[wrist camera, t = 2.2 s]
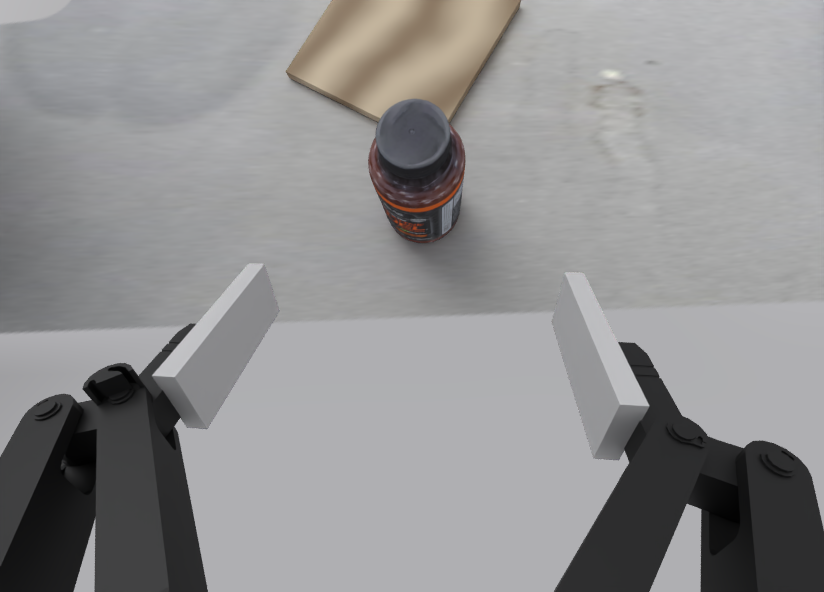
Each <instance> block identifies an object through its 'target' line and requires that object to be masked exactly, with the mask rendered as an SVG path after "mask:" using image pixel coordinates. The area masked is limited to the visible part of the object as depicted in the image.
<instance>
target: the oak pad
mask: <svg viewBox="0 0 824 592" xmlns="http://www.w3.org/2000/svg"><path fill="white" fill-rule="evenodd" d="M520 2H521V0H332V1H331V3H330V4H329V6H328V7H327V9H326V10H325V12H324V13H323V15H322V17H321V18H320V20H319V21H318V23H317V24H316V26H315V27H314V29H313V30H312V32H311V33H310V35H309V36H308V38H307V40H306V41H305V43H304V44H303V46H302V47H301V49H300V50H299V52H298V53H297V55H296V56H295V58H294V59H293V61H292V63H291V64H290V66H289V67H288V69H287V70H286V73H287V75H288V76H289V78H291V79H293V80H295V81H297V82H299V83H301V84H303V85H305V86H307V87H309V88H311V89H313V90H315V91H317V92H319V93H321V94H323V95H325V96H327V97H329V98H331V99H333V100H335V101H337V102H339V103H341V104H343V105H345V106H347V107H349V108H351V109H353V110H355V111H357V112H359V113H361V114H363V115H365V116H367V117H369V118H371V119H373V120H375V121H377V122H379V120H380V118H381V117H382V115H383V114H384V113H385V111H386V110H387V109H388V108H390V107H391V106H393V105H394V104H396V103H398V102H400V101H403V100H407V99H422V100H427V101H429V102H431V103H433V104H435V105H436V106H438V107H439V108H440V109H441V110H442V111H443V112H444V114H445V116H446V118H447V119H448V122H449V123H450V121H451V120H452V118H453V116H454V115H455V113H456V111H457V110H458V108H459V106H460V105H461V103H462V101H463V100H464V98H465V96H466V95H467V93H468V91H469V90H470V88H471V86H472V85H473V83H474V81H475V80H476V78H477V76H478V75H479V73H480V72H481V70H482V68H483V67H484V65H485V63H486V62H487V60H488V58H489V57H490V55H491V53H492V52H493V50H494V48H495V47H496V45H497V43H498V42H499V40H500V38H501V37H502V35H503V33H504V32H505V30H506V28H507V27H508V25H509V24H510V22H511V20H512V19H513V17H514V15H515V14H516V12H517V10H518V9H519V7H520Z"/></svg>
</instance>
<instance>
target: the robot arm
mask: <svg viewBox="0 0 824 592" xmlns="http://www.w3.org/2000/svg"><path fill="white" fill-rule="evenodd" d="M279 311H280V310H279V307H278V304H277V301H276V298H275V295H274V292H273V289H272V285H271V282H270V279H269V276H268V273H267V270H266V267H265V264H252V263H248V265H247V266H246V267H245V268H244V269H243V270H242V272H241V273H240V274H239V275H238V276H237V277H236V279H235V280H234V281H233V282H232V283H231V284H230V286H229V287H228V288H227V289H226V290H225V291H224V293H223V294H222V295H221V296H220V297H219V298H218V299H217V301H216V302H215V303H214V304H213V305H212V306H211V308H210V309H209V310H208V311H207V312H206V313H205V315H204V316H203V317H202V318H201V319H200V320H199V322H198V323H197V324H189V325H188V326H186V327H185V328H183V329H182V330H180V331H179V332H178V333H177V334H176V335H175V336H174V337H173V338H172V339H171V340H170V342H169V344H167V345H166V346H165V347H164V348H163V349H162V352H160V353H159V354H158V355H157V356H156V357H155V358H154V359H153V360H152V362H151V363H150V364H149V365H148V366H147V367H146V368H145V369H144V371H143V372H142V373H141V374H140V375H139V376H138V375H137V374H136V372H135V371H134V370H133V368H132V367H131V365H128V364H126V363H118V364H114V365H110V366H107V367H105V368H103V369H101V370H99V371H97V372H96V373H94V374H93V375H92V376H90V377H89V378H88V380H87V381H86V382H85V383H84V386H83V390H84V391H85V392H86V394H87V395H88V396H89V397H90V398H91V399H92V400H91V401H85V402H80V403H77V402H76V400H75V399H74V398H73V397H72V396H71V395H68V394H59V395H55V396H52V397H49V398H46V399H44V400H42V401H40V402H39V403H37V404H36V405H34V406H33V407H32V408H31V409H29V410H28V411H27V413H26V414H25V415H24V417H23V418H22V419H21V421H20V423H19V425H18V427H17V428H16V430H15V432H14V434H13V435H12V437H11V439H10V441H9V442H8V444H7V446H6V448H5V450H4V452H3V453H2V455H1V457H0V592H73V591H74V588H75V584H76V581H77V577H78V574H79V571H80V567H81V564H82V560H83V557H84V554H85V550H86V547H87V544H88V540H89V537H90V534H91V530H92V527H93V523H94V520H95V517H96V529H95V530H96V531H95V534H96V535H95V537H96V538H95V592H208V590H207V585H206V579H205V575H204V569H203V564H202V558H201V553H200V548H199V542H198V537H197V532H196V526H195V521H194V516H193V510H192V505H191V500H190V495H189V489H188V484H187V479H186V473H185V468H184V463H183V459H182V452H181V447H180V442H179V437H178V432H177V430H176V428H175V427H174V426H175V424H176V423H177V422H178V420H179V419H180V418H181V419H182V421H183V422H184V424H185V425H186V427H187V428H199V429H208V427H209V425H210V424H211V422H212V420H213V419H214V417H215V416H216V414H217V412H218V411H219V409H220V407H221V406H222V404H223V403H224V401H225V399H226V398H227V396H228V394H229V393H230V391H231V390H232V388H233V386H234V385H235V383H236V381H237V380H238V378H239V376H240V375H241V373H242V372H243V370H244V368H245V367H246V365H247V363H248V362H249V360H250V359H251V357H252V355H253V353H254V352H255V350H256V349H257V347H258V345H259V344H260V342H261V340H262V339H263V337H264V336H265V334H266V333H267V331H268V329H269V327H270V326H271V324H272V323H273V321H274V319H275V318H276V316H277V315H278V313H279ZM552 325H553V328H554V332H555V335H556V338H557V341H558V345H559V348H560V351H561V354H562V358H563V361H564V364H565V367H566V370H567V374H568V377H569V380H570V384H571V387H572V390H573V393H574V397H575V400H576V403H577V406H578V410H579V413H580V416H581V419H582V423H583V426H584V429H585V432H586V436H587V439H588V442H589V445H590V449H591V452H592V455H593V458H595V459H609V460H619V459H620V457H621V455H622V453H623V452H624V450H625V452H626V455H627V457H628V460H629V465H628V466H627V468H626V469H625V471H624V473H623V474H622V476H621V478H620V480H619V482H618V483H617V485H616V487H615V488H614V490H613V492H612V493H611V495H610V497H609V498H608V500H607V502H606V504H605V505H604V507H603V509H602V510H601V512H600V514H599V515H598V517H597V519H596V521H595V522H594V524H593V526H592V528H591V529H590V531H589V533H588V534H587V536H586V538H585V539H584V541H583V543H582V544H581V546H580V548H579V550H578V551H577V553H576V555H575V556H574V558H573V560H572V562H571V563H570V565H569V567H568V568H567V570H566V572H565V573H564V575H563V577H562V579H561V580H560V582H559V584H558V585H557V587H556V589H555V590H554V592H649V591H650V589H651V586H652V584H653V582H654V579H655V577H656V575H657V572H658V570H659V568H660V565H661V563H662V560H663V558H664V556H665V553H666V551H667V549H668V546H669V544H670V542H671V539H672V537H673V535H674V532H675V530H676V528H677V525H678V523H679V520H680V518H681V516H682V513H683V511H684V509H685V506H686V504H689V505H692V506H695V507H698V508H700V509H702V511H701V513H702V514H701V592H824V530H823V526H822V521H821V516H820V512H819V507H818V503H817V499H816V494H815V490H814V485H813V481H812V477H811V475H810V473H809V471H808V469H807V467H806V466H805V465H804V464H803V463H802V461H801V460H800V459H799V458H798V457H796V456H795V455H793V454H792V453H791V452H789V451H788V450H787V449H784V448H782V447H780V446H778V445H776V444H774V443H770V442H766V441H752V442H751V443H749V444H748V445H746V447H745V448H741V447H738V446H735V445H731V444H728V443H725V442H722V441H719V440H716V439H713V438H710V437H708V436H707V434H706V433H705V432H704V431H703V429H702V428H701V427H700V426H699V425H697V424H696V423H694V422H693V421H691V420H690V419H688V418H685V417H683V416H682V415H681V413H680V412H679V410H678V408H677V406H676V405H675V403H674V401H673V399H672V397H671V395H670V394H669V392H668V390H667V388H666V387H665V385H664V383H663V381H662V380H661V378H659V374H658V372H657V371H656V369H655V368H654V365H653V364H652V362H651V360H650V358H649V356H648V355H647V353H645V352H644V351H643V350H642V349H641V348H640V347H638V345H636V344H635V343H623V342H618V341H617V339H616V337H615V335H614V333H613V331H612V330H611V327H610V325H609V323H608V321H607V319H606V317H605V315H604V313H603V311H602V309H601V307H600V305H599V303H598V301H597V299H596V297H595V295H594V293H593V291H592V289H591V287H590V285H589V283H588V281H587V278H586V276H585V274H584V273H579V272H564V276H563V280H562V284H561V288H560V292H559V295H558V299H557V303H556V307H555V311H554V315H553V319H552Z"/></svg>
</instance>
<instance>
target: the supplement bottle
mask: <svg viewBox="0 0 824 592" xmlns="http://www.w3.org/2000/svg"><path fill="white" fill-rule="evenodd" d="M368 164H369V173H370V177H371V180H372V182H373V185H374V187H375V190H376V192H377V194H378V196H379V198H380V201H381V203H382V205H383V208H384V210H385V213H386V215H387V218H388V219H389V221H390V223H391V225H392V226H393V228H394V229H395V230H396V232H397V233H399V234H400V235H401V236H402V237H404V238H405V239H407V240H409V241H413V242H417V243H428V242H434V241H436V240H438V239H440V238H442V237H443V236H445V235H446V234H447V233H449V231H451V229H452V228H453V227H454V225H455V223H456V221H457V219H458V215H459V211H460V205H461V196H462V187H463V179H464V170H465V151H464V146H463V143H462V141H461V138H460V136H459V134H458V133H457V132H456V130H455V129H454V128H453V127H452V126H451V125H450V124H449V122H448V119H447V118H446V116H445V114H444V112H443V111H442V110H441V109H440V108H439V107H438V106H436V105H435V104H433V103H431V102H429V101H427V100H422V99H407V100H403V101H400V102H398V103H396V104H394V105H393V106H391V107H390V108H388V109H387V110H386V111H385V113H384V114H383V115H382V117H381V118H380V120H379V122H378V125H377V128H376V137H375V139H374V140H373V143H372V145H371V148H370V152H369V159H368Z"/></svg>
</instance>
